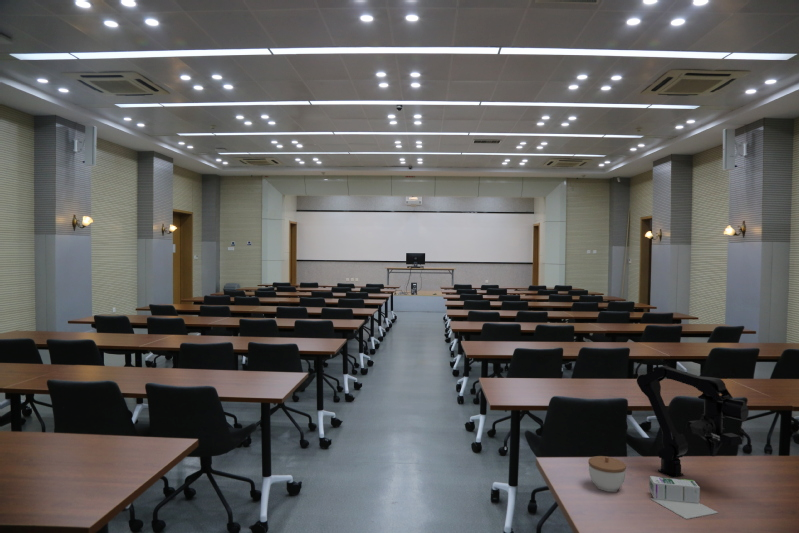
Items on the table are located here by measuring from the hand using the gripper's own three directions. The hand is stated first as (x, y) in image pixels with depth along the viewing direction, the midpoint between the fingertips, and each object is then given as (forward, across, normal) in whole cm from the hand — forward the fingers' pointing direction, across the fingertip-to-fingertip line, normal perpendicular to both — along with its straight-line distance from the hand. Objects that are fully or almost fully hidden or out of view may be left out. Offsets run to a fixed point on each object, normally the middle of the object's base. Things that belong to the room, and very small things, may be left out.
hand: (712, 455), depth 179 cm
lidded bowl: (+12, -10, -37) cm, 40 cm away
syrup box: (+9, +7, -14) cm, 18 cm away
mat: (+12, +8, -22) cm, 26 cm away
